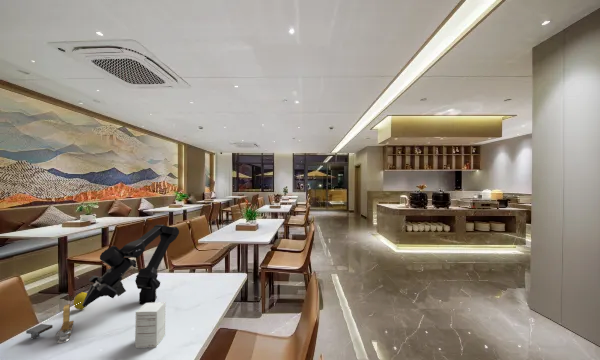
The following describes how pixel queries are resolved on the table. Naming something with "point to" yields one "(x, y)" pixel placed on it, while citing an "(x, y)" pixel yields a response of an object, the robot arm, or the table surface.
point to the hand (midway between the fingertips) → (83, 306)
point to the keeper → (38, 330)
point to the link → (67, 319)
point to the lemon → (79, 300)
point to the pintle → (63, 336)
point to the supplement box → (150, 325)
